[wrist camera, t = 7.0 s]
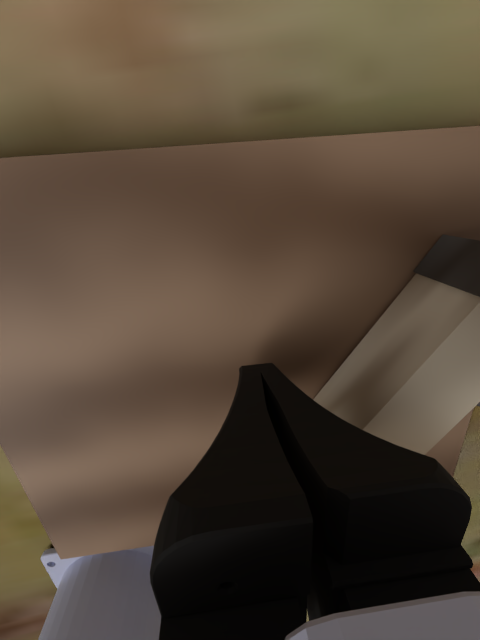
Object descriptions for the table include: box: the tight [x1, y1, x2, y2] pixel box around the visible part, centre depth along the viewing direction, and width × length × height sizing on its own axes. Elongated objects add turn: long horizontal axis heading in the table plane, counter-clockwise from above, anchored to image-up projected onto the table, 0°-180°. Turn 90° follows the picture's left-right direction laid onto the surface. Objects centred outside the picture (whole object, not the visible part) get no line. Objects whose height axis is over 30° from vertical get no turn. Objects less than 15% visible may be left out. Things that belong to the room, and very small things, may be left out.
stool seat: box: [0, 126, 480, 559], centre depth 13 cm, size 19×22×5 cm
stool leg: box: [313, 235, 480, 455], centre depth 12 cm, size 17×3×3 cm, turn 148°
